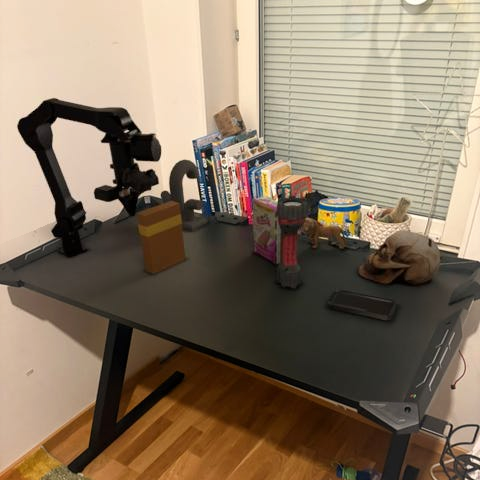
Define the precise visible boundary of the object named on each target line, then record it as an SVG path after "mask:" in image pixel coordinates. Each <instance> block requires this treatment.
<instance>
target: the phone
mask: <svg viewBox="0 0 480 480" xmlns="http://www.w3.org/2000/svg"><path fill="white" fill-rule="evenodd" d="M327 307H328V309H332V310H336V311H341V312H345V313H350V314H355V315H358V316H363V317H368V318H372V319H377V320H382V321H390V320H391V319H392V317H393V315H394V313H395V311H396V308H397V301H396V300H394V299H388V298H383V297H378V296H374V295H373V296H372V295H368V294H364V293H360V292H359V293H358V292H353V291H350V290H349V291H348V290H345V289H336V290H335V291H334V292H333V294H332V295H331V297H330V298H329V299H328V301H327Z"/></svg>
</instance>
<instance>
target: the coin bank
mask: <svg viewBox="0 0 480 480" xmlns="http://www.w3.org/2000/svg"><path fill="white" fill-rule="evenodd" d="M440 267H441V251H440V248H439V247H438V244H437V243H436V242H435V241H434V239H432V238H431V237H429V236H427V235H425V234H422V233H418V232H415V231H411V230H405V229H400V230H397V231H395V232H393V233H392V234H389V236H387V237H386V239H385V240H384V241H383V243H382V244H379V248H378V249H377V250H376V251H375V252H373V253H371V254H370V255H369V256H368V257H367V258H366V260H365V263H364V264H362V265H360V266H359V268H358V274H359V275H360V276H361V277H362V278H365V279H367V280H370V281H373V282H374V283H375V282H376V283H379V284H381V285H383V286H384V285H385V286H386V285H390V283H392V282H393V281H397V282H406V283H408V284H410V285H412V286H414V285H415V286H416V285H419V284H423V283H426V282H428V281H430V280H431V279H432V278H434V277H435V276H436V275H437V274H438V272H439V269H440Z"/></svg>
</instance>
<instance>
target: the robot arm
mask: <svg viewBox="0 0 480 480" xmlns="http://www.w3.org/2000/svg"><path fill="white" fill-rule="evenodd" d="M57 119H60V120H61V119H63V120H66V121H71V122H76V123H80V124H83V125H84V124H85V125H90V126H92V127H94V128H96V129H97V130H98V131H99V132H102V133H105V134H104V136H103V137H102V139H100V143H101V144H108V146H109V151H110V157H111V162H112V163H110V164H109V168H110V169H111V170H113V175H114V179H112V184H113V185H114V186H112V185H109V184H103V185H100V186H98V187H95V188H94V190H93V196H94V199H95V200H98V201H102V202H106V203H111V202H114V201H117V200H118V202H120V203H121V205H122V207H123V208H124V209H125V211H126V212H127V214H128V215H129V217H132V218H133V217H135V216H136V210H137V205H138V200H139V197H140V196H141V195H142V194H144V193H145V192H150V191H151V190H152V188H153V187H154V186H158V185H159V184H160V181H159V179H160V178H159V176H158V174H156V170H154V169H153V168H150V169H147V170H143V171H142V170H141V169H140V165H139V163H138V162H152V163H153V162H154V163H156V162H159V161H160V160H161V157H162V145H161V143H160V141H159V139H158V138H157V135H156V133H155V132H154V133H153V132H151V133H143V132H142V131H141V129H140V127H138V125H137V124H136V123H135V121H134V120H133V119H132V116H131V114H130V113H129V111H128V110H127V108H124V107H119V106H116V107H114V106H111V107H110V106H109V107H95V106H89V105H85V104H79V103H77V102H71V101H65V100H62V99H59V98H56V97H52V98H48V99H45V100H43V101H42V102H41V103H40V104H39V105H38V106H37V107H36V108H35V109H34V110H33V111H31V112H29V113H28V114H27V115H26V116H23V117H21V118H20V119H19V120H18V122H17V123H16V128H17V131H18V133H19V135H20V138H21V139H22V140H23V142H24V144H25V145H26V146H27V147H28V148H29V149H30V150H32V151H33V152H34V154H35V157H36V159H37V163H38V164H39V166H40V167H39V168H40V169H41V172H42V173H43V177H44V179H45V181H46V184H47V186H48V188H49V191H50V193H51V195H52V198H53V201H54V212H53V214H54V218H55V222H56V223H55V225H54V226H53V227H52V229H51V230H50V232H51V234H52V236H53V238H57V239H59V240H60V243H61V247H62V248H61V249H58V252H59V253H60V254H62V255H64V256H66V257H68V258H72V257H74V256H76V255H79V254H82V253H85V252H88V250H89V249H88V248H87V247H85V246H83V244H82V240H81V235H80V230H82V229H83V228H84V223H85V222H86V220H87V216H86V215H87V210H85V208H84V204H83V202H82V201H81V200H78V201H77V200H76V199H75V198H74V197H73V196H72V194H71V191H70V189H69V187H68V183H67V181H66V178H65V176H64V173H63V171H62V168H61V166H60V162H59V161H58V158H57V155H56V153H55V151H54V147H53V142H54V133H53V129H52V126H53V124H54V123H56V121H57ZM135 161H136V162H135Z"/></svg>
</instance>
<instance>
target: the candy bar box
mask: <svg viewBox="0 0 480 480" xmlns="http://www.w3.org/2000/svg"><path fill="white" fill-rule="evenodd" d="M251 202H252V203H251V204H252V205H251V207H252V208H251V209H252V234H253V235H252V240H253V242H252V243H253V253H255V254H257V255H259V256H260V257H262V258H264V259H266V260H267V261H269V262H271V263H273V264H275V265H279V264H280V236H281V229H280V227H279V224H278V216H277V202H278V200H275V198H272V197H269V196H267V195H263V196H259V197H255V198H252V199H251Z"/></svg>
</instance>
